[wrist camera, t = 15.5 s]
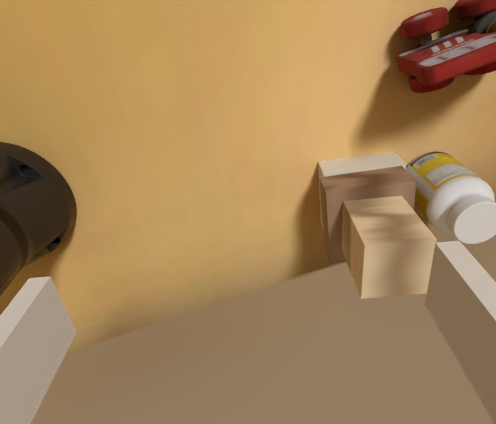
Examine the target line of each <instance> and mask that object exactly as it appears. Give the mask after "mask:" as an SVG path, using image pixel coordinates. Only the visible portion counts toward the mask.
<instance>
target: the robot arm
mask: <svg viewBox="0 0 496 424" xmlns="http://www.w3.org/2000/svg"><path fill="white" fill-rule="evenodd" d="M75 219H76V204H75V199H74V196H73V193H72V191H71V189H70V187H69V185H68V183H67V182H66V180H65V179H64V178H63V176H62V175H61V174H60V173H59V172H58V170H57V169H56V168H55V167H53V166H52V165H51V164H50V163H49V162H48V161H46V160H45V159H44V158H42V157H41V156H39V155H37V154H36V153H34V152H32V151H30V150H28V149H25V148H23V147H20V146H17V145H13V144H9V143H3V142H0V295H1V294H2V293H3V291H4V290H5V289H6V288H7V286H8V285H9V284H10V283H11V281H12V280H13V279H14V278H15V276H16V275H17V274H18V272H19V271H20V270H21V269H22V268H23V267H24V266H26V265H28V264H30V263H32V262H33V261H35V260H37V259H39V258H41V257H43V256H45V255H47V254H48V253H50V252H52V251H53V250H55V249H56V248H57V247H58V246H59V245H60V244H61V243H62V242H63V241H64V240H65V238H66V237H67V236H68V234H69V233H70V231H71V230H72V228H73V226H74V223H75ZM425 306H426V308H427V309H428V311H429V313H430V314H431V316H432V318H433V320H434V321H435V323H436V325H437V327H438V328H439V330H440V332H441V333H442V335H443V337H444V339H445V340H446V342H447V344H448V345H449V347H450V349H451V351H452V352H453V354H454V356H455V357H456V359H457V361H458V363H459V364H460V366H461V368H462V369H463V371H464V373H465V375H466V376H467V378H468V380H469V381H470V383H471V385H472V387H473V388H474V390H475V392H476V393H477V395H478V397H479V399H480V400H481V402H482V404H483V405H484V407H485V409H486V411H487V412H488V414H489V416H490V418H491V419H492V421H493V423H494V424H496V282H495V281H494V280H493V279H492V278H491V277H490V276H489V274H488V273H487V272H486V271H485V270H484V269H483V267H482V266H481V265H480V264H479V263H478V262H477V261H476V259H475V258H473V256H472V255H471V254H470V253H469V251H468V250H467V249H466V248H465V247H464V246H463V245H462V243H461V242H460V241H451V242H440V243H435V249H434V254H433V260H432V266H431V272H430V278H429V283H428V289H427V295H426V301H425ZM76 333H77V332H76V330H75V328H74V326H73V324H72V322H71V319H70V317H69V315H68V313H67V311H66V309H65V306H64V304H63V302H62V300H61V298H60V296H59V294H58V291H57V289H56V287H55V285H54V283H53V281H52V278H51V276H48V277H37V278H29V279H28V280H27V282H26V283H25V284H24V285H23V287H22V288H21V289H20V291H19V292H18V293H17V295H16V296H15V297H14V298H13V300H12V301H11V302H10V304H9V305H8V306H7V308H6V309H5V310H4V311H3V313H2V314H1V315H0V424H30V423H31V422H32V420H33V418H34V416H35V414H36V412H37V410H38V408H39V406H40V404H41V402H42V400H43V398H44V396H45V394H46V392H47V390H48V388H49V386H50V384H51V382H52V380H53V378H54V376H55V374H56V372H57V370H58V368H59V366H60V364H61V362H62V360H63V358H64V356H65V354H66V352H67V350H68V348H69V346H70V344H71V342H72V340H73V338H74V336H75V334H76Z"/></svg>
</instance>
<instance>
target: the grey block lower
mask: <svg viewBox="0 0 496 424" xmlns="http://www.w3.org/2000/svg"><path fill="white" fill-rule="evenodd" d="M395 166H403V168H404V169H405V170H406V163H405V162H404V161H403V160H402V159H401V158H400V157H399V156H398V155H397V154H396V153H395V152H392V153H384V154H375V155H367V156H359V157H351V158H342V159H334V160H326V161H318V173H319V177H326V176H333V175H340V174H347V173H354V172H360V171H367V170H374V169H381V168H388V167H395ZM319 199H320V224H321V228H322V231H323V222H322V208H321V194H320V179H319Z"/></svg>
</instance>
